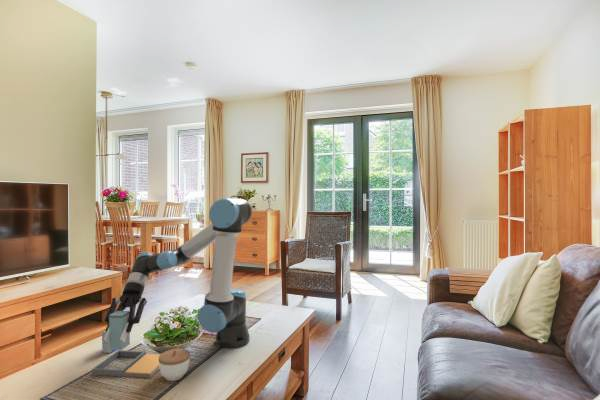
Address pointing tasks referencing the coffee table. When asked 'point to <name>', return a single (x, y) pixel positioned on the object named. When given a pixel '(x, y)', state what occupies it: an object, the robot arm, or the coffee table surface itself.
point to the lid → (144, 367)
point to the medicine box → (105, 344)
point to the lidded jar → (174, 363)
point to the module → (118, 330)
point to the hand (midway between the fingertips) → (114, 340)
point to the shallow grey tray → (114, 372)
